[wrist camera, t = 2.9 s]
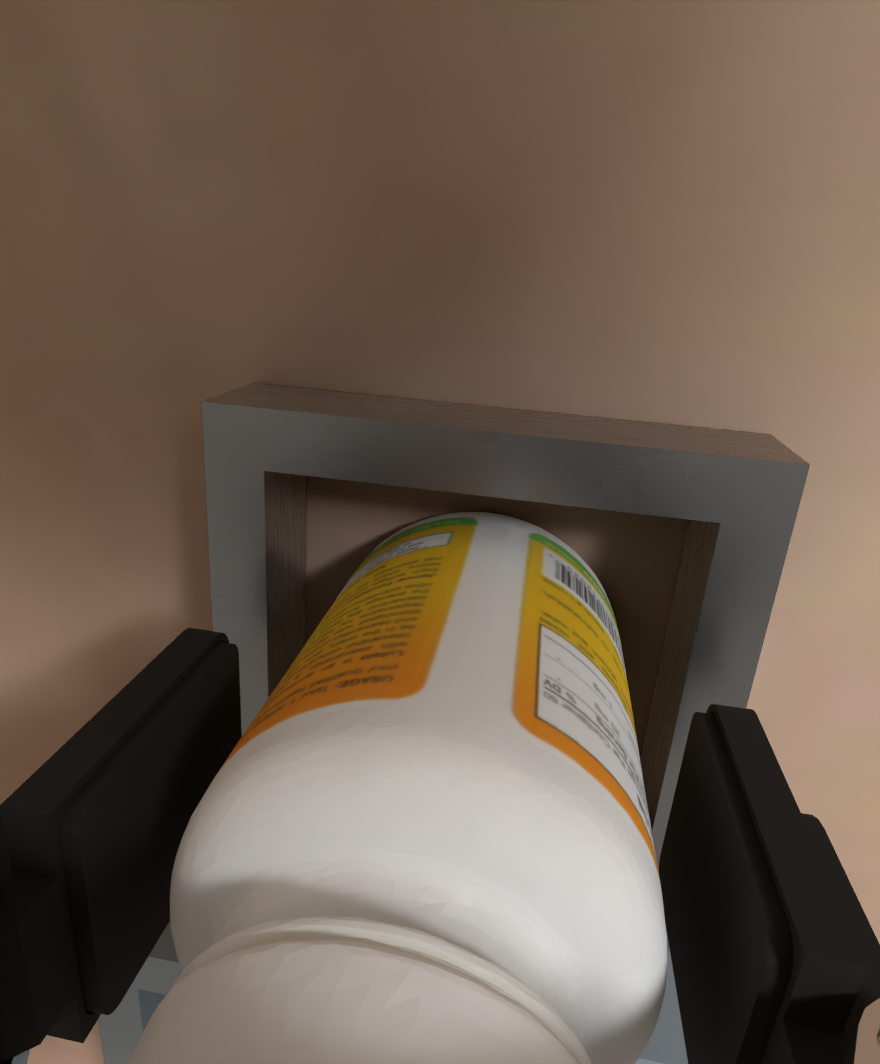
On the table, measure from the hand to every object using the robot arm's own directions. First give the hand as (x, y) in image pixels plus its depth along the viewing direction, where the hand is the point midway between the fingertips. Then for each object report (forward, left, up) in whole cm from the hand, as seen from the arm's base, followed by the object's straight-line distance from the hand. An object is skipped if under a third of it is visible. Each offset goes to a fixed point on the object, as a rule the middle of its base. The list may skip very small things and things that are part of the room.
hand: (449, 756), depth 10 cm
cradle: (0, 0, -4) cm, 4 cm away
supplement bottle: (0, 0, -4) cm, 4 cm away
